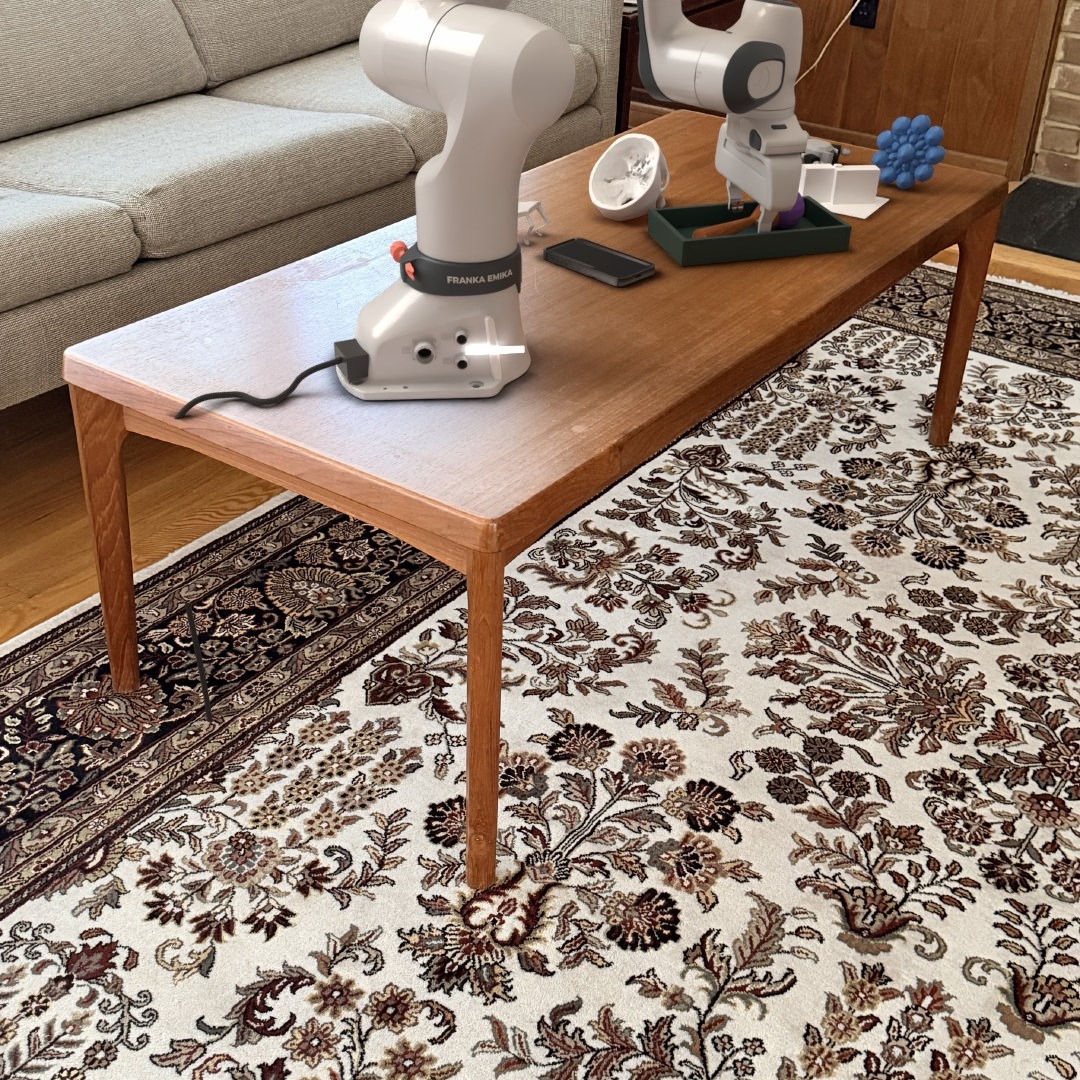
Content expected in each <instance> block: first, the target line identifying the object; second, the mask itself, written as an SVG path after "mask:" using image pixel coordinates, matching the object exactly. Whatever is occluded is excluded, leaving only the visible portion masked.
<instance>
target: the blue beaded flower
mask: <svg viewBox="0 0 1080 1080" xmlns="http://www.w3.org/2000/svg"><path fill="white" fill-rule="evenodd" d="M931 123H932V120H931V119H930V116H929V115H926V114H920V115H917V116H916V117H914V118H913V119H912V120H911V118H909V117H907V116H904V115H902V116H900V117H898V118H896V119H895V120H894V121H893V122H892V126H891V130H889V129H887V130H883V131H882V132H881V133H879V134H878V135H877V139H876V142H875V144H876V146H877V148H878V150H877V151H876V152H874V154H873V155H872V157H871V165H876V166H877V167H878V168H879V169H880V176H879V180H880V182H881V183H882V184H885V185H890V184H893V183H894V182H895V184H896V187H897V188H898V189H900V190H908V189H910V188H912V187H913V185H915V182H916V181H917V182H920V183H924V182H928V181H929V180H930V179H931V178H932V177H933V175H934V171H935V168H934V166H936V165H939V164H940V163H941V162H943V160H944V159H945V157H946V152H947V151H946V149H945V147H944V146H942V145H939V144H940V143H941V142H942V141H943V140H944V137H945V130H944V129H943V127H941V126H937V125H934V126H931Z"/></svg>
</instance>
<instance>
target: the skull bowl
mask: <svg viewBox="0 0 1080 1080" xmlns="http://www.w3.org/2000/svg"><path fill="white" fill-rule="evenodd" d="M670 175H671V174H670V172H669V169H668V165H667V159H666V157H665V155H664V154H663V151H662V150H661V147H660V146H659V144H658V142H657V141H656V140H655V139H654V138H653V137H652V136H650V135H647V134H641V133H628V134H625V135H623V136H621V137H619V138H617V139H616V140H614V141H613V142H612V144H611V145H610V146H609V147H608V148H607V149H606V150H605V151H604V153H602V155H601V156H600V157H599V159H598V160H597V161H596V163H595V164H594V166H593V168H592V170H591V172H590V176H589V180H588V181H589V182H588V194H589V197H590V200H591V203H592V204H593V205H594V207H595V208H596V209H597V211H598V212H599V213H601V214H602V216H603V217H605V218H607V219H610V220H612V221H617V222H623V221H629V220H632V219H637V218H639V217H642V216H644V215H649V209H655V208H665V206H666V198H665V196H664V193H665V192H666V190H667V188H668V187H669V183H670V180H671V176H670ZM664 180H666V181H665V184H664ZM629 200H630V201H629ZM627 201H628V202H627Z"/></svg>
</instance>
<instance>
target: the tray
mask: <svg viewBox="0 0 1080 1080" xmlns="http://www.w3.org/2000/svg"><path fill="white" fill-rule="evenodd" d="M802 198H803V201H804V205H805V208H804V214H803V216H802V218H801V219H800V221H799V222H798V223H797V224H796V225H794V226H793V227H790V228H787V229H778V228H775V227H774V228H771V232H760V233H757V232H756V231H755V227H756V225H751V226H749V227H747V228H746V229H744V230H742V231H741V232H739V233H737V234H735V235H726V236H715V237H703V238H692V235H693V232H694V231H695V230H697V229H702V228H706V227H710V226H714V225H719V224H723V223H727V222H731V221H736V220H740V219H744V218H749V217H750V216H751V215H752V213H753V212H754V211H755V209H756V208H757V206H758V205H759V203H758V202H757V201H755V200H754V199H752V200H744V205H743V211H742V212H740V213H738V212H737V213H733V212H732V211H730V210H729V209H728V203H729V201H728V202H717V203H706V204H705V203H704V204H691V205H680V206H670V207H669V206H668V207H663V208H657V207H656V208H655V209H649V213H648V217H647V220H648V221H647V230H646V231H647V234H648V235H649V236H650V237H651V238H652V239H653V240H654V241H655V242H656V243H657V244H658V245H659V246H660V247H661V248H662V249H663V250H664V251H665V252H666V253H667V254H668V255H669V256H670V257H671V259H673V260H674V261H675V262H676V263H678V265H679V266H680V267H689V266H699V265H709V264H721V263H730V262H741V261H752V260H753V261H754V260H763V259H773V258H784V257H795V256H805V255H816V254H817V255H818V254H827V253H828V254H829V253H838V252H848V251H849V248H850V241H851V235H852V231H853V230H852V229H853V226H852V225H851V224H850V223H848V222H847V221H845V220H844V219H842V218H841V217H840V216H838V215H837V214H836V213H834V212H831V211H830V210H828V209H827V208H825V207H824V206H823V205H821V204H820V203H818V202H817V201H815V200H814V199H813V198H811V197H810V196H802Z"/></svg>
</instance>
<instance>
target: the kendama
mask: <svg viewBox="0 0 1080 1080" xmlns="http://www.w3.org/2000/svg"><path fill="white" fill-rule="evenodd" d="M804 208H805V205H804V201H803V198H802V196H801V194H800V193H799V192H798V196H797V200H796V203H795V205H794V206H793V208H792V209H791V210H789V211H781V212H778V213H777V215H776V217H775V218H774V220H773V222H772V225H771V228H774V227H775V228H778V229H787V228H790V227H793V226H794V225H796V224H797V223H798V222H799V221H800V219H801V218H802V216H803V214H804ZM761 212H762V211H760V204H759V205H758V206H757V208H756V209H755V211H754V212H753V213H752V215H751V216H750V217H749V218H744V219H740V220H736V221H731V222H727V223H723V224H719V225H714V226H710V227H706V228H702V229H697V230H695V231H694V232H693V235H692V238H703V237H715V236H726V235H735V234H737V233H739V232H741V231H742V230H744V229H746V228H747V227H749V226H751V225H755V224H756V220H759V218H760V215H761Z"/></svg>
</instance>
